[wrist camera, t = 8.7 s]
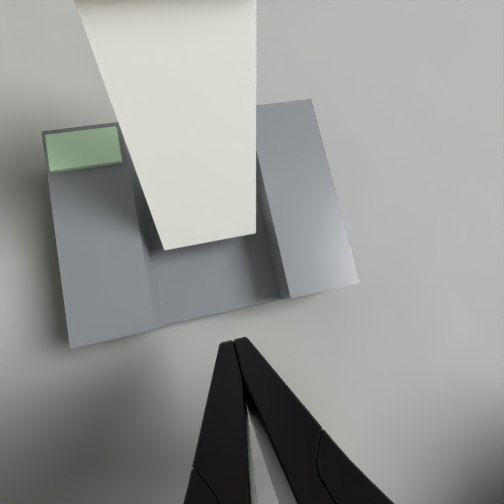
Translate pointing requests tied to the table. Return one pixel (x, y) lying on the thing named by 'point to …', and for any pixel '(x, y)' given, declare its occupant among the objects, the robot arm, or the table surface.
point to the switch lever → (184, 108)
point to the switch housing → (195, 256)
